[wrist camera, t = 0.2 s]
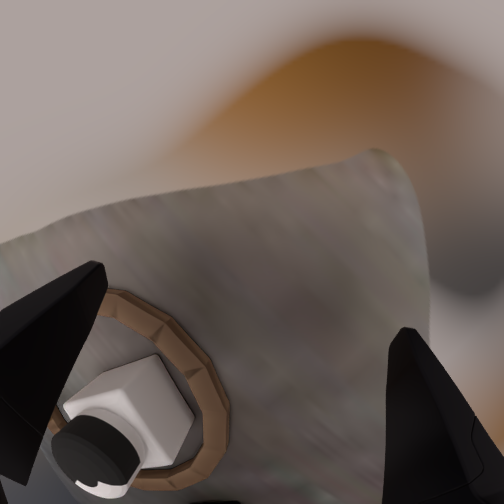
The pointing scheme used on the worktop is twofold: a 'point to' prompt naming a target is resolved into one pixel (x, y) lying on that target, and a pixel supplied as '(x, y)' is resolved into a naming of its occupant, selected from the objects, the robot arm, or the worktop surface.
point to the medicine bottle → (122, 427)
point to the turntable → (197, 375)
